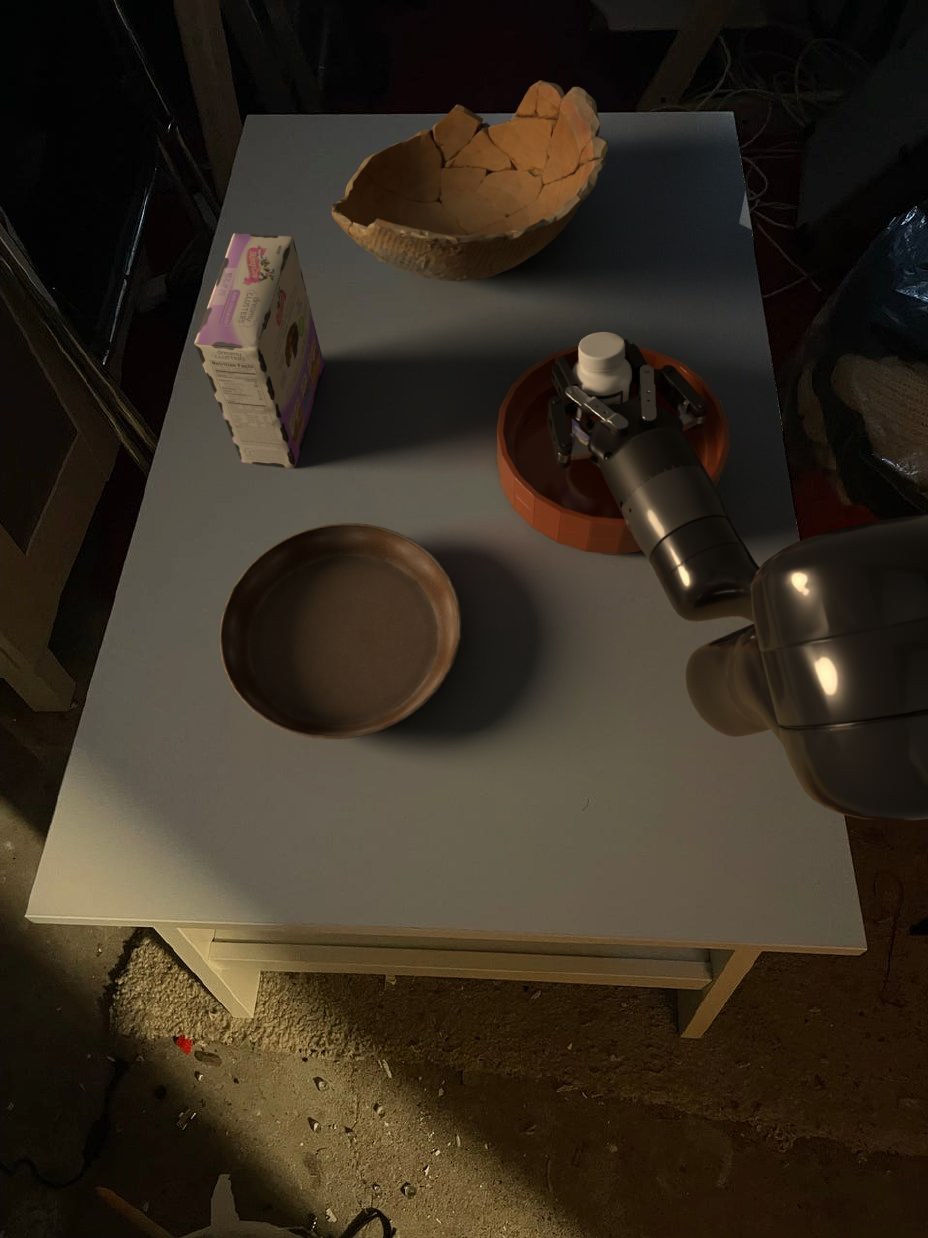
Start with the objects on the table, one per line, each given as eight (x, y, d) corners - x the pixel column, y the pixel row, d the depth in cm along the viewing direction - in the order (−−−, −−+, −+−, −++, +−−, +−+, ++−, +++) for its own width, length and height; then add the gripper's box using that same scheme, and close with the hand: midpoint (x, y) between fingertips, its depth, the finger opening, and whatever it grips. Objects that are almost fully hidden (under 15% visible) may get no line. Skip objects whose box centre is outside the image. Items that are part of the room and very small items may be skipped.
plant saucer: (510, 625, 79) (510, 608, 76) (349, 801, 72) (343, 789, 69) (342, 505, 86) (337, 484, 83) (181, 654, 79) (169, 638, 76)
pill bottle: (592, 409, 87) (593, 320, 79) (640, 428, 84) (645, 337, 77) (560, 440, 84) (558, 350, 77) (609, 460, 82) (611, 369, 74)
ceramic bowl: (386, 125, 110) (394, 1, 96) (595, 193, 110) (632, 79, 96) (301, 301, 97) (296, 186, 84) (537, 377, 98) (570, 275, 84)
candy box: (272, 360, 95) (232, 228, 80) (326, 365, 94) (295, 233, 80) (239, 464, 88) (189, 341, 74) (297, 470, 88) (258, 347, 73)
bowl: (714, 389, 91) (727, 350, 86) (717, 566, 81) (732, 533, 76) (508, 375, 93) (509, 336, 88) (486, 547, 83) (486, 513, 78)
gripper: (759, 446, 70) (669, 302, 78) (589, 496, 69) (515, 344, 76) (737, 502, 77) (656, 364, 85) (581, 549, 75) (513, 404, 83)
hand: (589, 355), depth 80 cm, fingers closed on pill bottle, 5 cm apart
